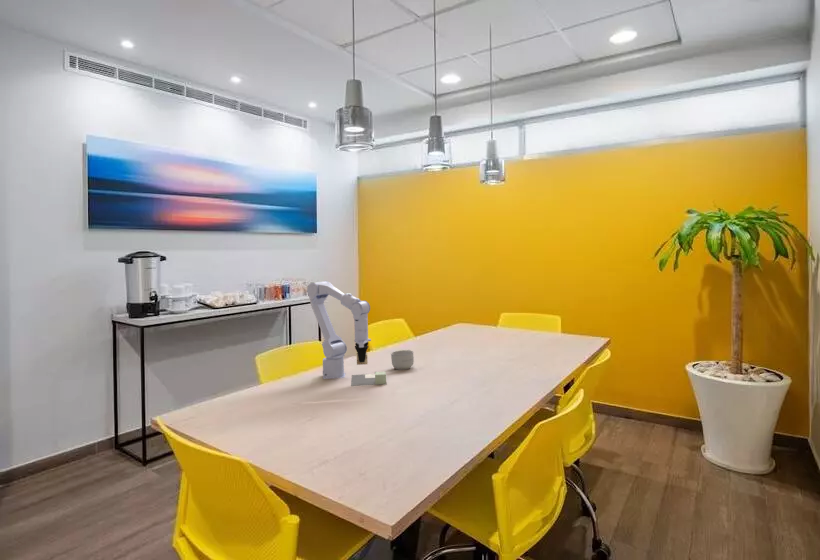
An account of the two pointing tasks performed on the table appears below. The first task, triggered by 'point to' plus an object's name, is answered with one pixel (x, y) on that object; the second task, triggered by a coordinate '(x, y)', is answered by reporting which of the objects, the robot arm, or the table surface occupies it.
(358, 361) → the maple block
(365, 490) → the table surface
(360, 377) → the baseplate
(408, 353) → the teacup
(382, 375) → the sage block
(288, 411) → the table surface
